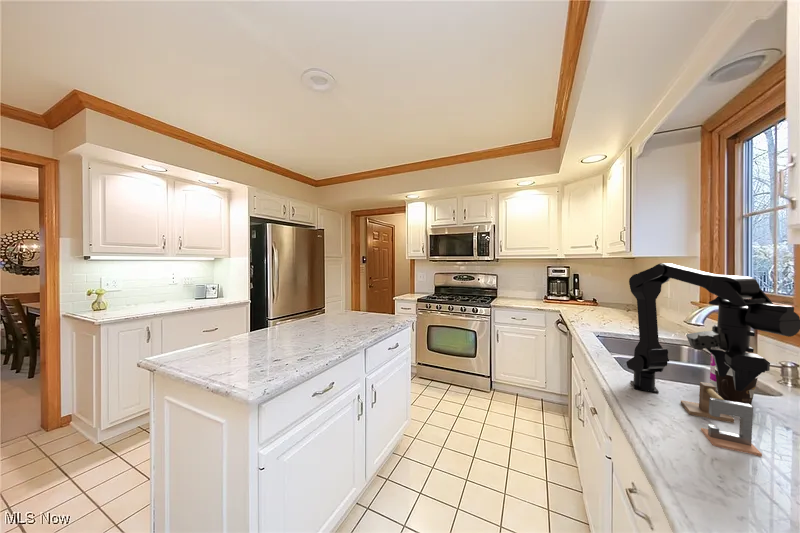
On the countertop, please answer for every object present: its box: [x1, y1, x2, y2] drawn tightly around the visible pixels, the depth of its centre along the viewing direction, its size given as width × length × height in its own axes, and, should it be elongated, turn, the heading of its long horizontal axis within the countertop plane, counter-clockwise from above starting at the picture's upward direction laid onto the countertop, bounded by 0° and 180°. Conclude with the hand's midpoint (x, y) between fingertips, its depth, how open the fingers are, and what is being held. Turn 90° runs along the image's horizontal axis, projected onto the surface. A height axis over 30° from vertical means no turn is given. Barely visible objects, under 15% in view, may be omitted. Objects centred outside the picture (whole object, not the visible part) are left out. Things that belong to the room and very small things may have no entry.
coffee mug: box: [715, 368, 759, 406], centre depth 89 cm, size 12×9×10 cm
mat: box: [700, 427, 763, 457], centre depth 72 cm, size 7×8×1 cm
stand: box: [680, 381, 735, 424], centre depth 81 cm, size 16×9×9 cm, turn 151°
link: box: [707, 398, 754, 446], centre depth 71 cm, size 2×7×10 cm, turn 61°
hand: (729, 383), depth 76 cm, fingers open, 9 cm apart
